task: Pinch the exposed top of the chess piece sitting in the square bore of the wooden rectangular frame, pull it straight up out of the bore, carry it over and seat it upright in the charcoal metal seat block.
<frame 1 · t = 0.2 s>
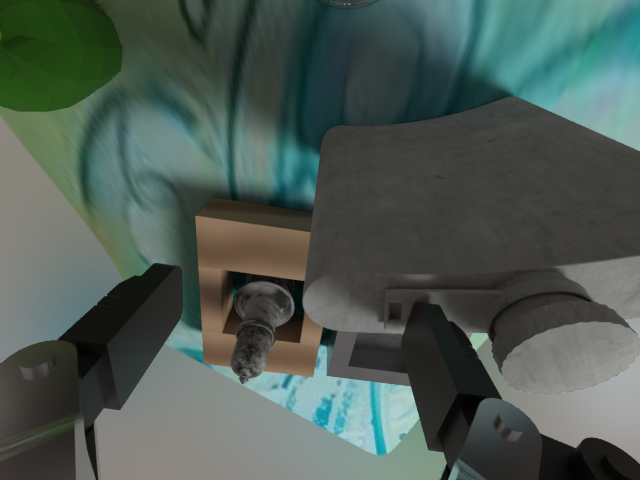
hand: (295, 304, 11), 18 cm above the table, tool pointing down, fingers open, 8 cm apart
bell pepper: (86, 40, 23), on the table
hip flask: (419, 137, 25), on the table, touching gripper
seat block: (393, 314, 35), on the table
wooden rectangular frame: (270, 283, 33), on the table
chess piece: (270, 282, 33), resting in wooden rectangular frame
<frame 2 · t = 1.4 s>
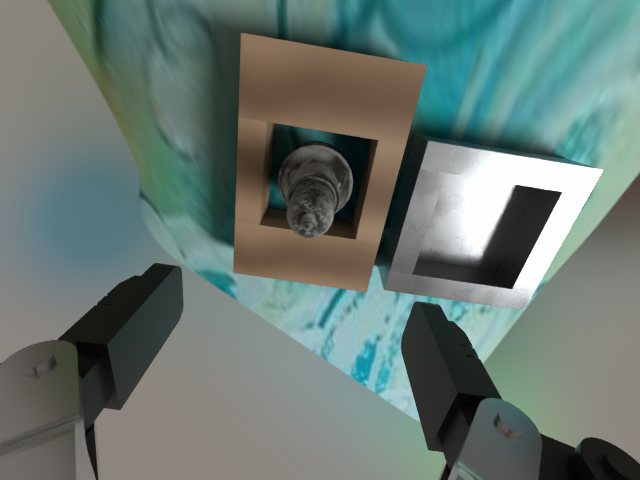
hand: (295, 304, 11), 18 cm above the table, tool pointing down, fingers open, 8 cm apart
seat block: (463, 217, 29), on the table
wooden rectangular frame: (317, 172, 27), on the table
chess piece: (317, 171, 27), resting in wooden rectangular frame
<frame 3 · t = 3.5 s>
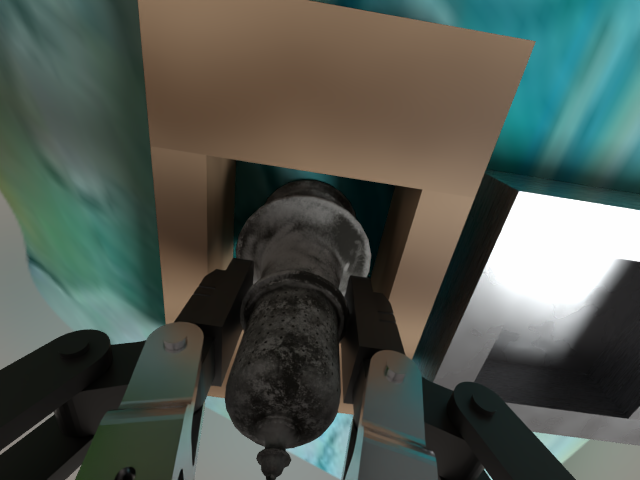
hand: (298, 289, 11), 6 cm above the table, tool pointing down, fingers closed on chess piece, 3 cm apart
seat block: (540, 294, 18), on the table
wooden rectangular frame: (308, 227, 17), on the table
chess piece: (308, 226, 17), resting in wooden rectangular frame, touching gripper
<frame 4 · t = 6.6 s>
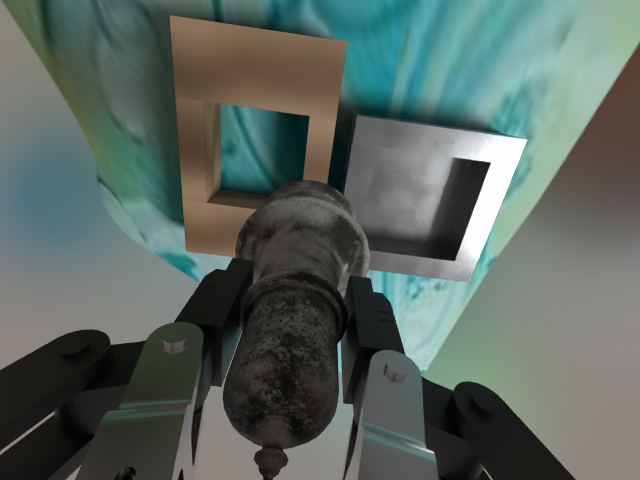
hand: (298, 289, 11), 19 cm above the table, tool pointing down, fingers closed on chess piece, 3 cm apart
seat block: (408, 194, 30), on the table
wooden rectangular frame: (264, 153, 28), on the table
chess piece: (307, 226, 17), point 13 cm above the table, touching gripper
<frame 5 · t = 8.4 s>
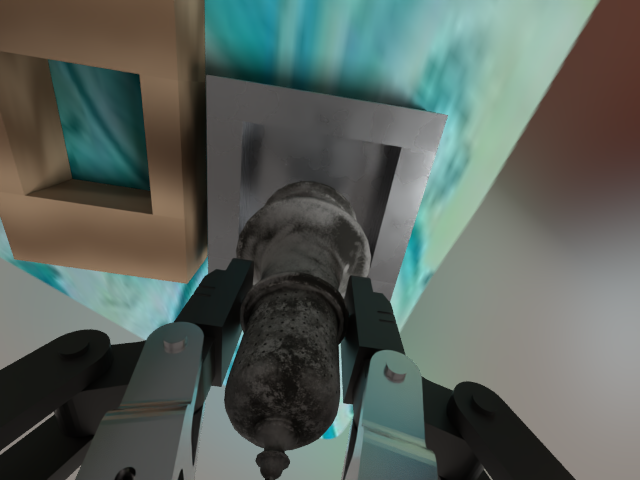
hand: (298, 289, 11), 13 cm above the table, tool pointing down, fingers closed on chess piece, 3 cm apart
seat block: (314, 190, 23), on the table
wooden rectangular frame: (119, 131, 21), on the table
chess piece: (308, 227, 17), point 7 cm above the table, touching gripper
when the fingers open (8 cm above the table, at t = 9.9 s): chess piece drops 1 cm, resting on seat block.
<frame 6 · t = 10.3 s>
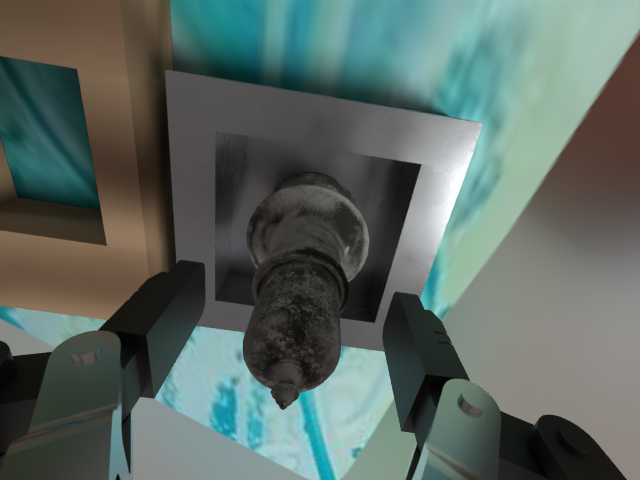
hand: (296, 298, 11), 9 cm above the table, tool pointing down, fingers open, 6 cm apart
seat block: (310, 211, 19), on the table
wooden rectangular frame: (70, 141, 17), on the table
chess piece: (311, 216, 18), point 1 cm above the table, touching seat block
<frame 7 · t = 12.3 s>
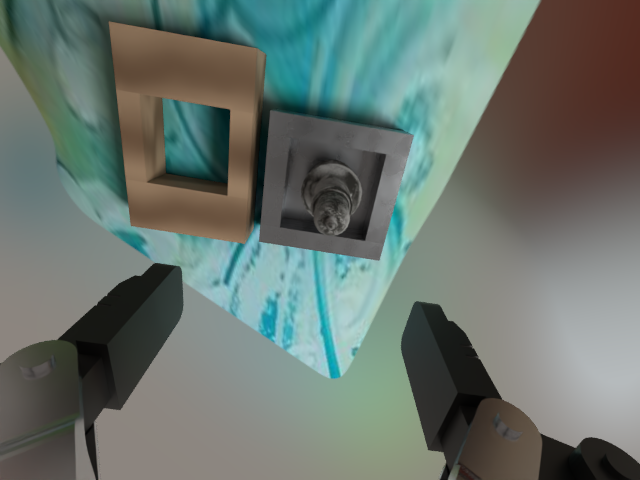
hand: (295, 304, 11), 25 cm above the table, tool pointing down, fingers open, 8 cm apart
seat block: (330, 182, 34), on the table
wooden rectangular frame: (202, 142, 32), on the table
chess piece: (331, 184, 33), point 1 cm above the table, touching seat block
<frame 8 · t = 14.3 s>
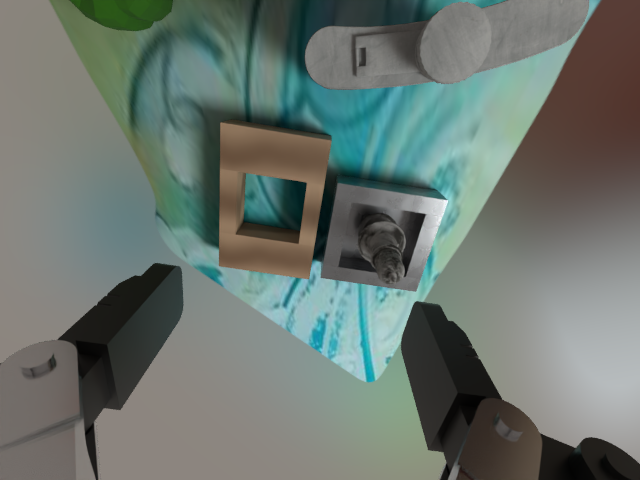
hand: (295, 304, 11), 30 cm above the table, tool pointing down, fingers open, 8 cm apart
hip flask: (388, 67, 34), on the table
seat block: (375, 228, 42), on the table
wooden rectangular frame: (275, 199, 41), on the table
chess piece: (377, 230, 41), point 1 cm above the table, touching seat block
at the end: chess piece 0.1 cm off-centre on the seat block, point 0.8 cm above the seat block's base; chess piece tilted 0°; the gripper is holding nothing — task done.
